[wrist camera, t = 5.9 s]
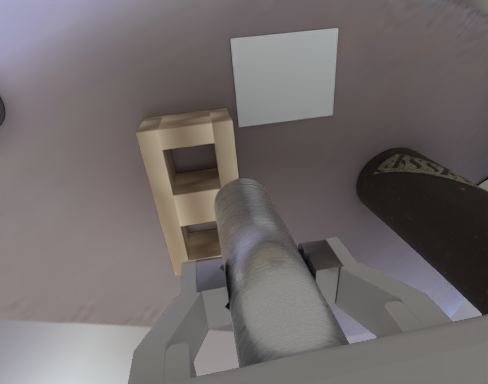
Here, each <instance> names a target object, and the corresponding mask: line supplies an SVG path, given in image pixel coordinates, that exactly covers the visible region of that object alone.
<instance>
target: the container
mask: <svg viewBox="0 0 488 384" xmlns="http://www.w3.org/2000/svg"><path fill="white" fill-rule="evenodd" d="M357 192H358V196H359V198H360V200H361V201H362V202H363V203H364V204H365V205H366V206H367V207H368V208H369V209H370V210H371V211H372V212H373V213H374V214H375V215H377V216H378V217H379V218H380V219H381V220H382V221H383V222H385V223H386V224H387V225H388V226H389V227H390V228H391V229H392V230H393V231H394V232H396V233H397V234H398V235H399V236H400V237H401V238H402V239H403V240H404V241H405V242H407V243H408V244H409V245H410V246H411V247H412V248H413V249H414V250H415V251H416V252H417V253H418V254H420V255H421V256H422V257H423V258H424V259H425V260H426V261H427V262H428V263H429V264H430V265H431V266H432V267H433V268H435V269H436V270H437V271H438V272H439V273H440V274H441V275H442V276H443V277H444V278H445V279H446V280H448V281H449V282H450V283H451V284H452V285H453V286H454V287H455V288H456V289H457V290H458V291H459V292H460V293H461V294H462V295H463V296H464V297H465V298H466V299H467V300H468V301H469V302H470V303H471V304H472V305H473V306H475V307H476V308H477V309H478V310H479V311H480V312H481V313H482V315H487V314H488V191H486V190H484V189H483V188H481V187H479V186H477V185H475V184H473V183H471V182H470V181H468V180H466V179H464V178H463V177H461V176H459V175H457V174H455V173H453V172H452V171H450V170H448V169H446V168H444V167H443V166H441V165H439V164H437V163H435V162H434V161H432V160H430V159H428V158H426V157H425V156H423V155H421V154H419V153H417V152H416V151H413V150H411V149H406V148H397V149H392V150H388V151H386V152H384V153H382V154H380V155H378V156H377V157H375V158H374V159H373V160H372V161H370V162H369V163H368V164H367V165H366V167H365V168H364V169H363V171H362V173H361V175H360V177H359V180H358V185H357Z"/></svg>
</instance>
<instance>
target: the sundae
mask: <svg viewBox="0 0 488 384" xmlns="http://www.w3.org/2000/svg"><path fill="white" fill-rule="evenodd" d="M4 117H5V109H4V105H3V102H2V100H1V98H0V125H1V124H2V122H3V121H4Z"/></svg>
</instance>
